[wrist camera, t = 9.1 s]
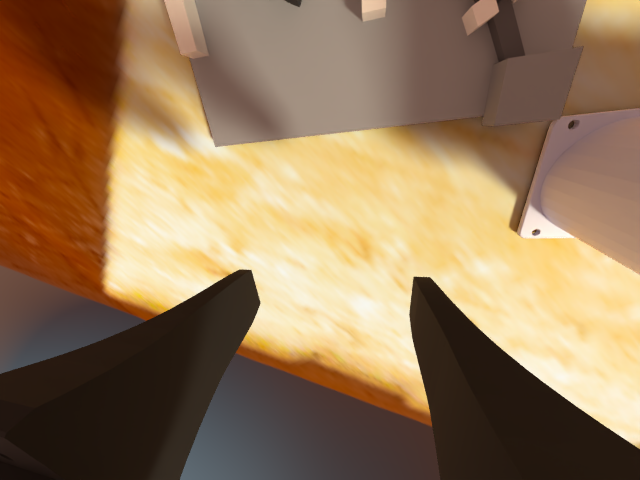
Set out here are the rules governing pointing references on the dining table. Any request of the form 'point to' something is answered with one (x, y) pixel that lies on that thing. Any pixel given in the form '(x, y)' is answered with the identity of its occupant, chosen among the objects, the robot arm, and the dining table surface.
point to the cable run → (521, 70)
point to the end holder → (191, 33)
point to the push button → (294, 2)
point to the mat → (354, 63)
